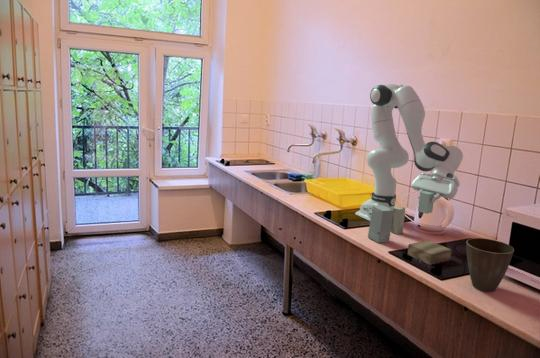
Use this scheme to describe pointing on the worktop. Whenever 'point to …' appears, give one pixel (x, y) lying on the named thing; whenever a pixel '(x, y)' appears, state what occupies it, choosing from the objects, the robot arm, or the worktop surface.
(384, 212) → the skincare box
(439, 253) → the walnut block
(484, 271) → the plant pot
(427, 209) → the sage column
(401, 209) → the box
